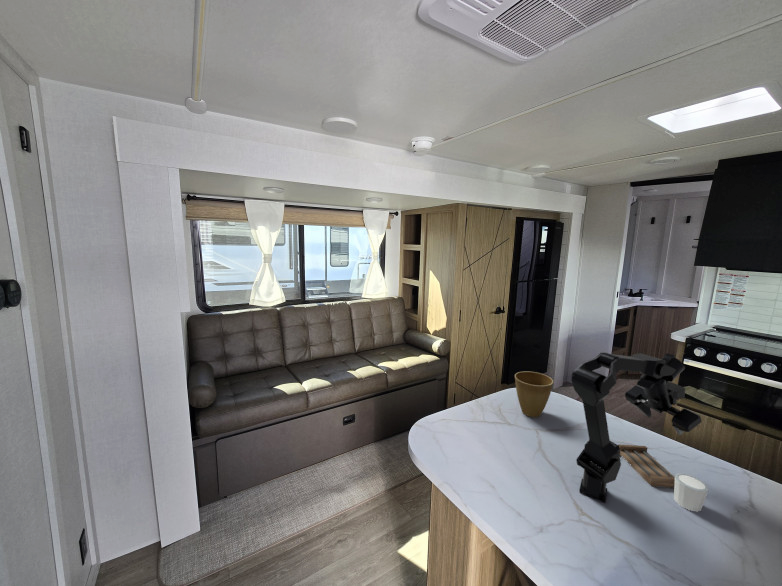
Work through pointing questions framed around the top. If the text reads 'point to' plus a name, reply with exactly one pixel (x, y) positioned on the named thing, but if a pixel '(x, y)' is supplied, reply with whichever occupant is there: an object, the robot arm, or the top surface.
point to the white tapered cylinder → (689, 492)
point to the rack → (647, 465)
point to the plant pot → (533, 392)
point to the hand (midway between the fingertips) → (664, 425)
